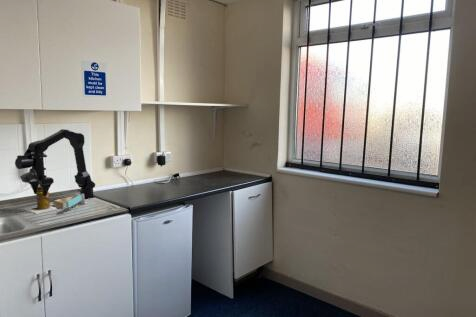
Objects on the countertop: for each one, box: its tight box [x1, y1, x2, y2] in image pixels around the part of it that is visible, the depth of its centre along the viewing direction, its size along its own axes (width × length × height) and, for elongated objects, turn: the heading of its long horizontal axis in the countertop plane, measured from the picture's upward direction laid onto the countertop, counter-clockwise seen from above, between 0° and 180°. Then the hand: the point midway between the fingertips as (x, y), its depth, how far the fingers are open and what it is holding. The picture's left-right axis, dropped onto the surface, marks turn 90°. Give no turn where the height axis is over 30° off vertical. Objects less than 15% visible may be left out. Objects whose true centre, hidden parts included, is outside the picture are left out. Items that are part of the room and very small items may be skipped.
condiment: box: [31, 186, 53, 211], centre depth 194 cm, size 7×8×12 cm
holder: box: [52, 193, 86, 209], centre depth 203 cm, size 12×12×6 cm
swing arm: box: [65, 194, 82, 209], centre depth 195 cm, size 16×1×3 cm, turn 179°
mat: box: [24, 205, 58, 215], centre depth 194 cm, size 11×11×1 cm
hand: (40, 195), depth 193 cm, fingers open, 9 cm apart
